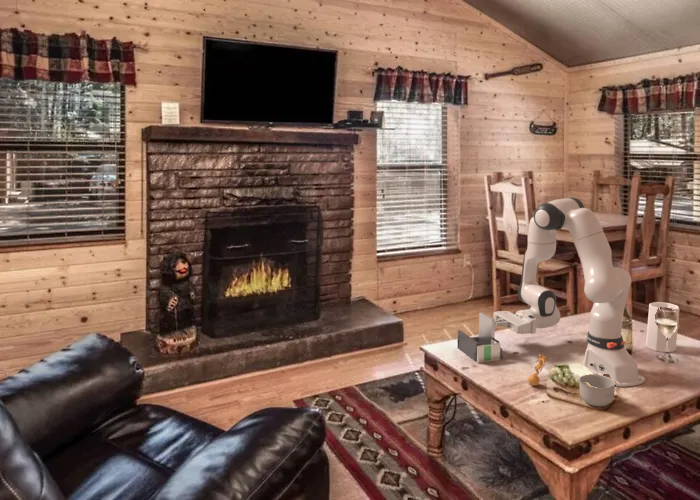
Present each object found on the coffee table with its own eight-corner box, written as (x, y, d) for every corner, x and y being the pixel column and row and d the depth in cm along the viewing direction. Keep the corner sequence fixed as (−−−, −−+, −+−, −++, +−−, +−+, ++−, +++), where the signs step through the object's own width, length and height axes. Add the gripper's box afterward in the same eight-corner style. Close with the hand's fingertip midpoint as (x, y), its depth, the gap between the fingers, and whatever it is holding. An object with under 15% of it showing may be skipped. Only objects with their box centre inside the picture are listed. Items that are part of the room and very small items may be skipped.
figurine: (526, 380, 193) (527, 349, 190) (543, 380, 192) (544, 350, 189) (529, 390, 185) (531, 358, 182) (547, 391, 184) (549, 359, 181)
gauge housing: (504, 359, 212) (505, 340, 210) (478, 363, 208) (478, 344, 207) (482, 344, 228) (482, 327, 227) (457, 347, 225) (457, 330, 224)
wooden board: (499, 355, 211) (500, 322, 208) (496, 355, 211) (497, 322, 208) (481, 343, 225) (482, 312, 222) (478, 343, 224) (479, 312, 222)
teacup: (611, 413, 167) (612, 390, 166) (575, 405, 173) (576, 382, 172) (616, 395, 179) (618, 374, 177) (582, 388, 185) (583, 367, 183)
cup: (650, 341, 227) (654, 300, 224) (679, 347, 219) (683, 305, 216) (641, 348, 220) (644, 306, 216) (670, 355, 212) (675, 311, 208)
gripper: (510, 306, 232) (482, 309, 228) (538, 320, 212) (508, 323, 209) (510, 319, 233) (482, 323, 229) (537, 334, 214) (508, 338, 210)
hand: (495, 323), depth 219 cm, fingers closed
